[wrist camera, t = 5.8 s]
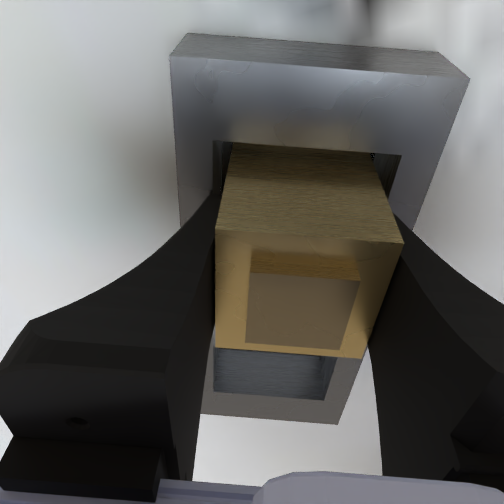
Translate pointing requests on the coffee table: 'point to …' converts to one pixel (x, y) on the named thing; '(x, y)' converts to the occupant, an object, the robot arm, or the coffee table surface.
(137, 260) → the coffee table surface
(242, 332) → the wooden block
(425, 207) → the coffee table surface
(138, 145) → the coffee table surface
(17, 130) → the coffee table surface
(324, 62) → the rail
